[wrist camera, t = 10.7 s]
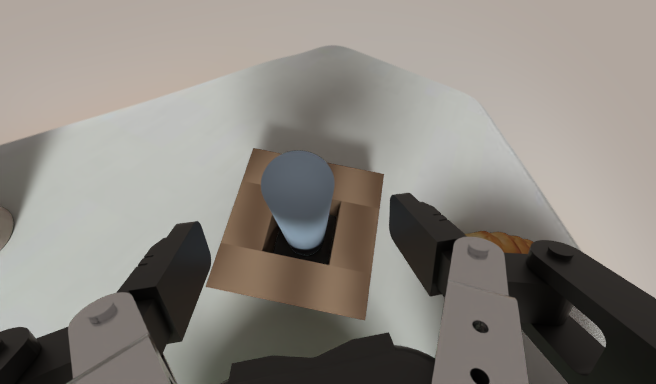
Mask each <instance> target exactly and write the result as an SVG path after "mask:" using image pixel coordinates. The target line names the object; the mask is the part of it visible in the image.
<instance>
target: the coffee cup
mask: <svg viewBox="0 0 656 384" xmlns="http://www.w3.org/2000/svg"><path fill="white" fill-rule="evenodd" d="M12 231H13V218H12V215H11V214H10V212H9V211H8V210H6V209H5V208H3V207H1V206H0V250H1V249H2V248H3V247H4V245H5V244H6V243H7V241H8V240H9V238H10V236H11V234H12Z"/></svg>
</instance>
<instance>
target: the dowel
mask: <svg viewBox="0 0 656 384" xmlns="http://www.w3.org/2000/svg"><path fill="white" fill-rule="evenodd" d="M334 186H335V185H334V176H333V173H332V170H331V168H330V167H329V165H328V164H327V163H326V162H325V161H324V160H323V159H322V158H321V157H319V156H317V155H316V154H313V153H311V152H307V151H290V152H286V153H283V154H281V155H279V156H277V157H276V158H275V159H273V160H272V161H271V162H270V163H269V164H268V166H267V167H266V169H265V170H264V172H263V175H262V179H261V191H262V195H263V198H264V200H265V201H266V203H267V205H268V207H269V209H270V211H271V212H272V214H273V216H274V218H275V220H276V222H277V223H278V225H279V227H280V229H281V231H282V233H283V235H284V236H285V238H286V240H287V242H288V244H289V246H290V247H291V249H292V250H293V251H294V252H295V253H297V254H299V255H304V256H307V255H312V254H314V253H316V252H317V251H318V250H319V249H320V248H321V246H322V244H323V241H324V236H325V231H326V227H327V222H328V217H329V212H330V207H331V202H332V197H333V192H334Z"/></svg>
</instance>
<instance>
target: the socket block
mask: <svg viewBox="0 0 656 384" xmlns="http://www.w3.org/2000/svg"><path fill="white" fill-rule="evenodd" d="M279 155H281V153H276V152H271V151H266V150H261V149H256V148H253V151H252V154H251V157H250V160H249V163H248V165H247V168H246V171H245V174H244V177H243V180H242V183H241V186H240V189H239V191H238V194H237V197H236V200H235V203H234V206H233V209H232V212H231V215H230V218H229V220H228V223H227V226H226V229H225V232H224V235H223V238H222V241H221V244H220V247H219V249H218V252H217V255H216V258H215V261H214V264H213V267H212V270H211V273H210V276H209V278H208V281H207V284H206V287H210V288H214V289H219V290H224V291H229V292H233V293H238V294H243V295H247V296H252V297H257V298H262V299H266V300H271V301H276V302H281V303H285V304H290V305H295V306H299V307H304V308H309V309H314V310H318V311H323V312H328V313H332V314H337V315H342V316H347V317H351V318H356V319H361V320H365V317H366V309H367V302H368V294H369V286H370V278H371V271H372V263H373V255H374V247H375V240H376V232H377V224H378V216H379V209H380V201H381V193H382V185H383V178H384V174H381V173H376V172H371V171H366V170H361V169H356V168H351V167H346V166H341V165H336V164H331V163H327V164H328V165H329V167H330V168H331V170H332V173H333V176H334V185H335V186H334V192H333V197H332V202H331V207H330V212H329V215H332V216H337V217H336V222H335V227H334V233H333V238H332V243H331V248H330V254H329V259H328V264H327V265H326V264H321V263H316V262H311V261H306V260H302V259H297V258H292V257H287V256H282V255H277V254H273V251H274V247H275V244H276V240H277V236H278V233H279V229H280V227H279V225H278V223H277V222H276V220H275V218H274V216H273V214H272V212H271V211H270V209H269V207H268V205H267V203H266V201H265V200H264V198H263V195H262V191H261V179H262V175H263V172H264V170H265V169H266V167H267V166H268V164H269V163H270V162H271V161H272V160H273V159H275V158H276V157H277V156H279Z"/></svg>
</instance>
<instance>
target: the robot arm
mask: <svg viewBox="0 0 656 384" xmlns="http://www.w3.org/2000/svg"><path fill="white" fill-rule="evenodd" d="M389 230H390V235H391V237H392V240H393V241H394V243H395V244H396V246H397V247H398V249H399V250H400V252H401V253H402V255H403V256H404V258H405V259H406V261H407V262H408V264H409V265H410V267H411V268H412V270H413V272H414V273H415V275H416V276H417V278H418V279H419V281H420V282H421V284H422V285H423V287H424V288H425V290H426V291H427V293H428V294H429V296H435V295H440V294H442V295H443V296H444V298H445V301H444V307H443V313H442V319H441V326H440V332H439V338H438V344H437V350H436V356H435V358H433V357H432V356H430V355H428V354H426V353H423V352H421V351H419V350H415V349H412V348H409V347H404V346H397V345H394V344H393V342H392V339H391V337H390V334H389V333H384V334H379V335H374V336H369V337H364V338H359V339H354V340H351V341H349V342H347V343H344V344H342V345H340V346H338V347H336V348H334V349H332V350H330V351H328V352H326V353H324V354H322V355H320V356H317V357H314V358H303V357H287V356H268V357H263V358H258V359H252V360H247V361H242V362H237V363H232V366H231V371H230V377H229V379H228V380H226V381H224V382H222V383H221V384H529V382H528V374H527V367H526V360H525V353H524V346H523V339H522V331H521V329H522V330H523V331H524V333H525V334H526V335H527V336H528V337H529V338H530V339H531V341H532V342H533V343H534V344H535V345H536V346H537V348H538V349H539V350H540V351H541V352H542V353H543V355H544V356H545V357H546V358H547V359H548V360H549V361H550V363H551V364H552V365H553V366H554V367H555V368H556V370H557V371H558V372H559V373H560V374H561V375H562V377H563V378H564V379H565V380H566V381H567V382H568V384H656V299H655V298H654V297H652V296H651V295H649V294H648V293H646V292H644V291H643V290H641V289H640V288H638V287H636V286H635V285H633V284H632V283H630V282H628V281H627V280H625V279H624V278H622V277H621V276H619V275H617V274H616V273H614V272H613V271H611V270H610V269H608V268H606V267H605V266H603V265H602V264H600V263H599V262H597V261H595V260H594V259H592V258H591V257H589V256H588V255H586V254H584V253H583V252H581V251H580V250H578V249H576V248H574V247H572V246H569V245H566V244H563V243H560V242H555V241H548V240H541V241H536V242H533V243H532V244H531V246H530V249H529V252H528V254H520V253H504V252H503V251H502V249H501V248H500V247H499V246H497V245H496V244H494V243H492V242H491V241H488V240H486V239H482V238H478V237H467V236H466V235H465V234H464V233H463V232H462V231H460V230H459V229H458V228H457V227H456V226H455V225H454V224H452V223H451V222H450V221H449V220H447V218H446V217H445V216H443V215H441V213H440V212H439V211H438V210H437V209H435V208H434V207H433V206H431V205H428V204H426V203H424V202H419V201H418V200H417V199H416V198H415V197H414V196H413V195H412V194H410V193H403V194H396V195H392V196H391V198H390V217H389ZM210 266H211V255H210V251H209V248H208V245H207V242H206V239H205V236H204V233H203V230H202V227H201V224H200V223H199V222H198V221H195V222H188V223H180V224H176V225H175V227H174V228H173V229H172V231H171V232H170V234H169V235H168V236H167V238H163V239H162V240H160V241H159V242H158V243H156V244H155V245H154V246H152V247H151V248H150V250H149V251H148V252H147V254H146V255H145V256H144V258H143V259H142V260H141V261H140V263H139V264H138V267H136V268H135V269H134V271H133V272H132V273H131V274H130V276H129V277H128V278H127V280H126V281H125V282H124V284H123V285H122V286H121V287H120V289H119V290H118V291H117V293H114V294H110V295H107V296H105V297H102V298H100V299H98V300H96V301H94V302H92V303H91V304H89V305H88V306H86V307H85V308H84V309H82V310H81V311H80V312H79V313H78V314H77V315H76V316H75V317H74V318H73V319H72V321H71V322H70V324H69V327H66V328H64V329H61V330H58V331H55V332H53V333H50V334H47V335H45V336H42V337H39V338H37V339H36V338H35V337H34V336H33V334H32V333H31V332H30V331H29V330H28V329H27V328H24V327H17V328H11V329H7V330H4V331H1V332H0V384H177V381H176V379H175V377H174V375H173V373H172V371H171V369H170V366H169V364H168V362H167V360H166V358H165V356H164V354H163V351H164V349H165V347H166V344H170V343H175V342H181V341H182V340H183V337H184V335H185V332H186V330H187V327H188V324H189V322H190V319H191V317H192V314H193V311H194V309H195V306H196V304H197V301H198V298H199V296H200V293H201V290H202V288H203V285H204V283H205V280H206V277H207V275H208V272H209V270H210ZM573 305H574V306H575V307H576V308H577V309H578V310H580V311H581V312H582V313H583V314H584V315H585V316H587V317H588V318H589V319H590V320H591V321H592V322H594V323H595V324H596V325H597V326H598V327H599V328H600V330H601V331H602V333H603V334H604V336H605V339H606V347H604V346H602V345H601V344H600V343H599V342H598V341H597V340H596V339H595V338H594V337H592V336H591V335H590V334H589V333H588V332H587V331H586V330H585V329H584V328H583V327H581V326H580V325H579V324H578V323H577V322H576V321H575V320H574V319H573V318H571V317H570V316H569V313H570V311H571V309H572V307H573Z"/></svg>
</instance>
